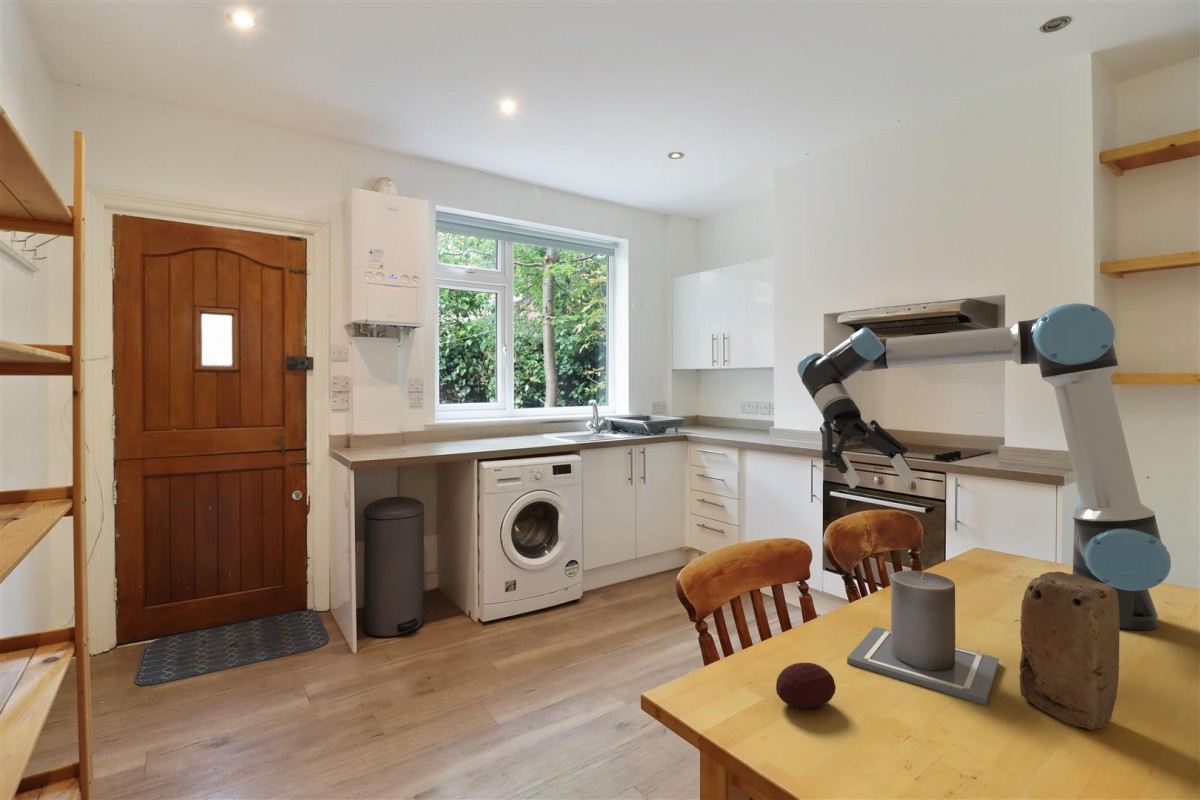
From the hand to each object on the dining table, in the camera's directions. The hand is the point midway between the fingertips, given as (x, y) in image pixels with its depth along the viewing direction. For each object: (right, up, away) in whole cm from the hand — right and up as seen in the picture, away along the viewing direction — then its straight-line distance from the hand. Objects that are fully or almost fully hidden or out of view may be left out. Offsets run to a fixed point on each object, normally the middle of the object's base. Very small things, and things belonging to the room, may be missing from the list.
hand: (883, 483), depth 119 cm
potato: (-28, -29, -33) cm, 52 cm away
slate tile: (-3, -28, -20) cm, 35 cm away
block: (+10, -29, -34) cm, 46 cm away
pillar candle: (-3, -27, -20) cm, 34 cm away
